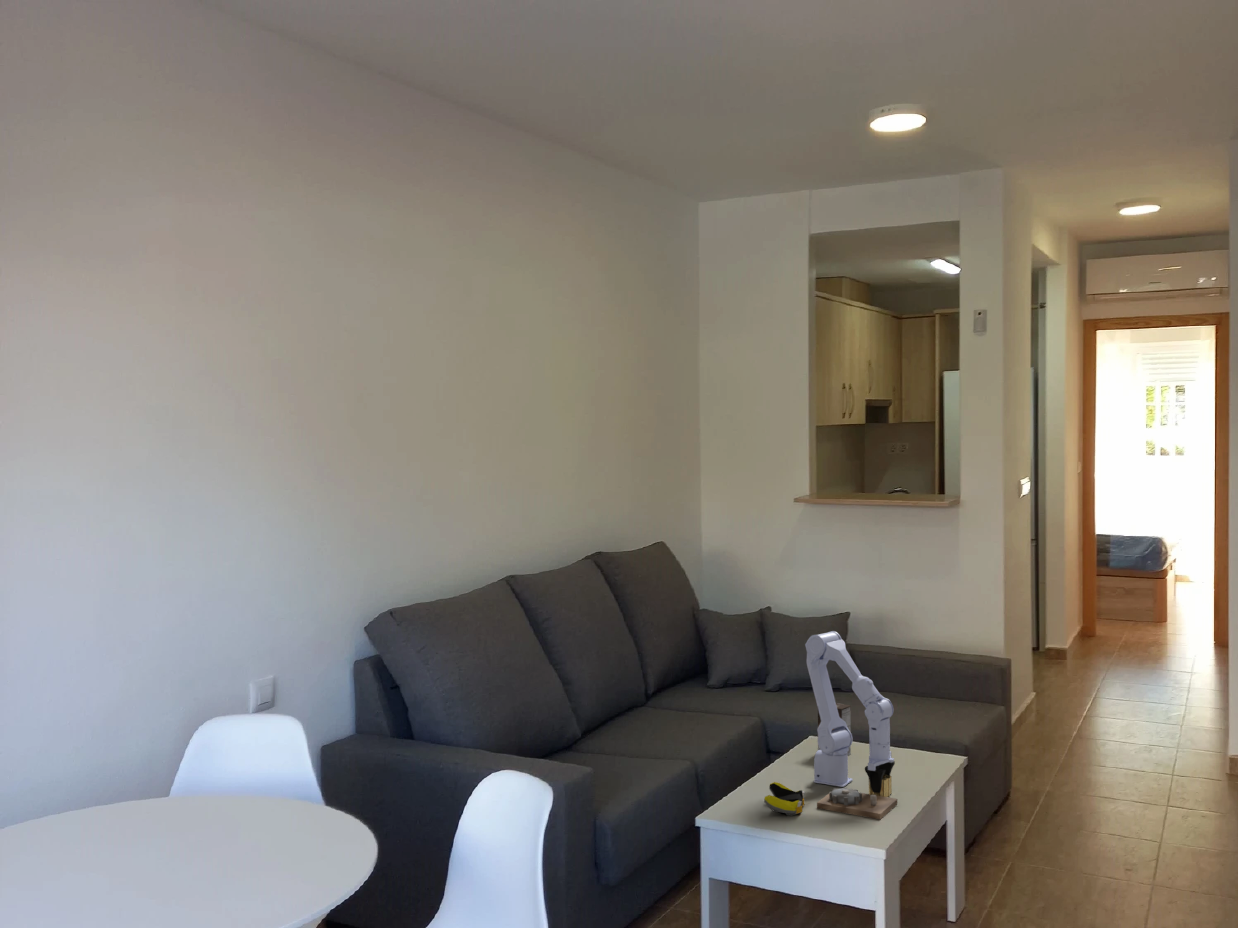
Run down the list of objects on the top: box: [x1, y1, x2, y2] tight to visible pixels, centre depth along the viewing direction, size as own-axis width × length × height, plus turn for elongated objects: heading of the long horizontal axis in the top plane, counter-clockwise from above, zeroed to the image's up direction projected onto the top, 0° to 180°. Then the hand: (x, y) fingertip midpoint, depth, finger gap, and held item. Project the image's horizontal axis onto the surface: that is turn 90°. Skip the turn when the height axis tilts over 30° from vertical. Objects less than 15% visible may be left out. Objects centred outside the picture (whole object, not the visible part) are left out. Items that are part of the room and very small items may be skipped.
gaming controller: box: [763, 781, 805, 816], centre depth 298 cm, size 15×6×10 cm
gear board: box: [816, 787, 898, 820], centre depth 299 cm, size 18×14×4 cm
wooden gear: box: [868, 774, 892, 797], centre depth 309 cm, size 6×6×5 cm
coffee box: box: [817, 702, 852, 756], centre depth 349 cm, size 9×6×16 cm
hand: (880, 789), depth 309 cm, fingers closed on wooden gear, 6 cm apart
